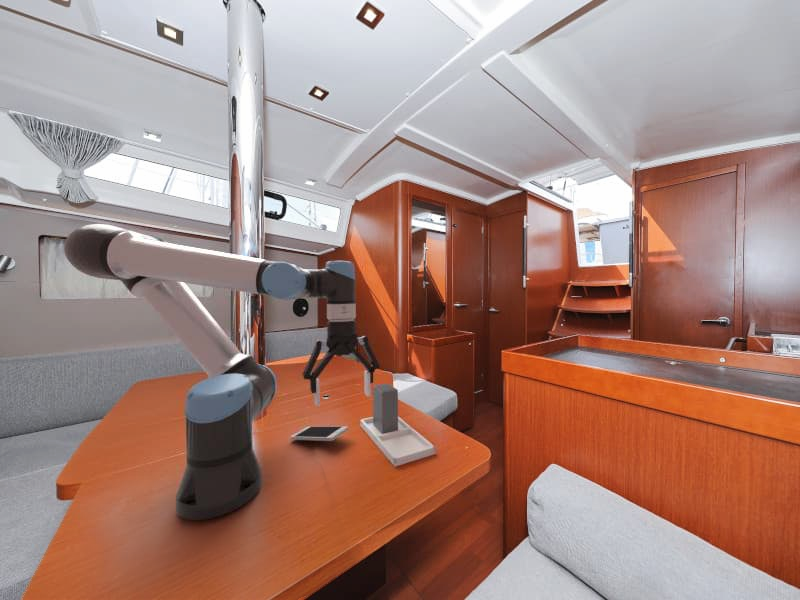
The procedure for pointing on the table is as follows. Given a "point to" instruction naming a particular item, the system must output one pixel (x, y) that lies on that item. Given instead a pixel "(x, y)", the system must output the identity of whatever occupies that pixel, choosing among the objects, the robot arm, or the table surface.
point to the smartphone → (320, 433)
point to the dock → (399, 442)
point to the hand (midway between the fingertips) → (343, 399)
